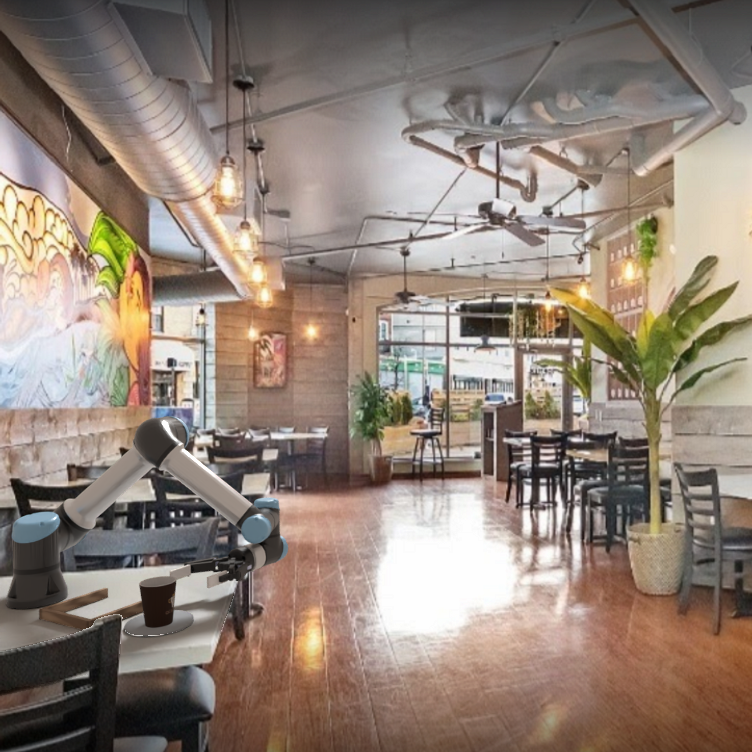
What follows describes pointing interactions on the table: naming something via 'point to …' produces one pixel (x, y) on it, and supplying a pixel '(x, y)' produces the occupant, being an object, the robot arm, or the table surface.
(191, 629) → the table surface
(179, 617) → the mat
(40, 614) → the brown wooden open frame
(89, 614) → the table surface
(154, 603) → the coffee mug
